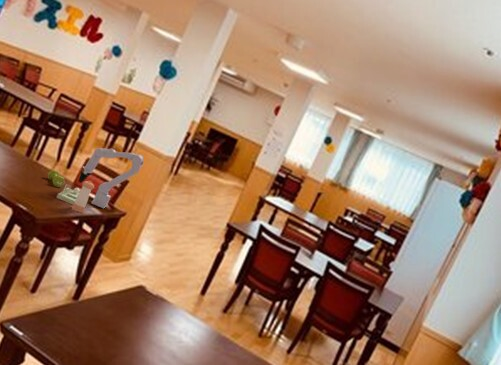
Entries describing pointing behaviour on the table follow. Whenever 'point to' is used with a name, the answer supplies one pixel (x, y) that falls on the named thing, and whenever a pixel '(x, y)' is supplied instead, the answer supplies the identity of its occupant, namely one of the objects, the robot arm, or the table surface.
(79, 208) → the pepper shaker
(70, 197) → the pale green box
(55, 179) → the dumbbell
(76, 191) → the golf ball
